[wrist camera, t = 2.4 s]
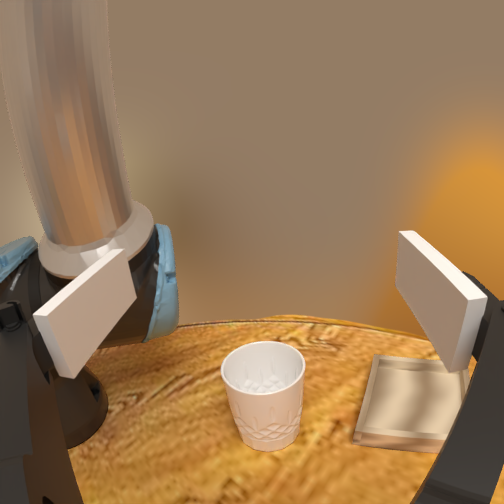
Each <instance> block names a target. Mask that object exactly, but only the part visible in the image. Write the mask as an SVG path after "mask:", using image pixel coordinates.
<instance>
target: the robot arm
mask: <svg viewBox="0 0 504 504" xmlns="http://www.w3.org/2000/svg"><path fill="white" fill-rule="evenodd" d="M0 69H1V75H2V81H3V87H4V93H5V99H6V104H7V108H8V113H9V118H10V122H11V126H12V131H13V135H14V139H15V143H16V147H17V150H18V154H19V158H20V161H21V164H22V168H23V171H24V174H25V177H26V181H27V184H28V187H29V190H30V193H31V196H32V199H33V202H34V204H35V207H36V210H37V213H38V215H39V218H40V221H41V223H42V226H43V228H44V231H45V233H44V235H43V237H42V239H41V242H40V245H39V249H38V243H37V242H36V241H35V239H34V238H33V237H31V236H29V237H23V238H20V239H18V240H15V241H13V242H10V243H8V244H6V245H4V246H2V247H0V504H84V503H83V500H82V497H81V494H80V491H79V488H78V485H77V482H76V479H75V476H74V472H73V469H72V465H71V462H70V458H69V454H68V451H67V449H69V448H72V447H74V446H76V445H78V444H80V443H82V442H83V441H85V440H86V439H88V438H89V437H90V436H91V435H93V434H94V433H95V432H96V430H97V429H98V428H99V427H100V425H101V424H102V422H103V420H104V418H105V416H106V413H107V409H108V399H107V395H106V393H105V391H104V389H103V387H102V385H101V383H100V381H99V380H98V378H97V377H96V376H95V375H94V374H93V373H92V372H91V371H90V370H89V368H88V367H87V366H86V365H85V364H86V362H87V361H88V360H89V358H90V357H91V356H92V354H93V353H94V352H95V350H96V349H102V348H109V347H116V346H123V345H129V344H136V343H146V342H148V341H149V340H151V339H155V338H159V337H163V336H167V335H169V334H171V333H172V332H174V330H175V329H176V327H177V325H178V320H179V303H178V289H177V282H176V278H175V276H176V271H175V257H174V249H173V243H172V237H171V232H170V229H169V227H168V226H166V225H160V224H155V225H154V221H153V217H152V215H151V213H150V211H149V210H148V209H147V208H146V207H145V206H144V205H142V204H141V203H139V202H136V201H134V200H132V196H131V191H130V186H129V181H128V176H127V171H126V165H125V160H124V154H123V149H122V142H121V136H120V130H119V124H118V117H117V110H116V102H115V94H114V86H113V77H112V67H111V57H110V45H109V32H108V14H107V0H0ZM395 286H396V288H397V289H398V291H399V292H400V294H401V295H402V297H403V298H404V300H405V301H406V303H407V305H408V306H409V308H410V309H411V311H412V312H413V314H414V316H415V317H416V319H417V320H418V322H419V324H420V325H421V327H422V328H423V330H424V332H425V333H426V335H427V337H428V338H429V340H430V342H431V343H432V345H433V347H434V348H435V350H436V352H437V354H438V355H439V357H440V359H441V360H442V362H443V364H444V366H445V367H446V369H447V371H448V373H452V372H457V371H461V370H466V369H467V368H468V365H469V362H470V359H471V356H472V355H473V356H474V358H475V359H476V361H477V364H476V366H475V369H474V372H473V375H472V377H471V380H470V383H469V385H468V389H467V391H466V394H465V396H464V399H463V402H462V404H461V406H460V409H459V411H458V414H457V416H456V418H455V420H454V423H453V425H452V427H451V429H450V432H449V434H448V436H447V438H446V440H445V442H444V444H443V446H442V448H441V450H440V452H439V454H438V456H437V458H436V460H435V462H434V463H433V465H432V467H431V469H430V471H429V473H428V474H427V476H426V478H425V480H424V481H423V483H422V485H421V486H420V488H419V490H418V491H417V493H416V495H415V496H414V498H413V499H412V501H411V502H410V504H490V501H491V498H492V496H493V493H494V490H495V488H496V485H497V482H498V479H499V476H500V473H501V470H502V467H503V464H504V300H503V301H499V300H498V299H497V298H496V297H495V296H494V295H493V294H492V293H491V292H490V291H489V290H488V289H485V286H483V285H482V284H480V282H479V281H478V280H477V279H476V278H475V277H474V276H472V275H470V274H468V273H465V272H464V271H463V272H461V271H460V270H459V269H457V268H456V267H455V266H454V265H453V264H452V263H451V262H450V261H449V260H447V259H446V258H445V257H444V256H443V255H442V254H441V253H439V252H438V251H437V250H436V249H434V247H432V246H431V245H430V244H429V243H428V242H426V241H425V240H424V239H423V238H422V237H420V236H419V235H418V234H417V233H416V232H414V231H399V237H398V255H397V269H396V280H395Z"/></svg>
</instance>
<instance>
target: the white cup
mask: <svg viewBox="0 0 504 504" xmlns="http://www.w3.org/2000/svg"><path fill="white" fill-rule="evenodd" d="M221 376H222V379H223V383H224V386H225V390H226V394H227V397H228V401H229V405H230V408H231V412H232V414H233V417H234V421H235V423H236V425H237V428H238V432H239V434H240V436H241V438H242V440H243V442H244V443H245V444H246V445H248V446H249V447H251V448H253V449H254V450H259V451H265V452H271V451H276V450H281V449H283V448H285V447H286V446H288V445H290V444H291V443H293V442H294V440H295V438H296V437H297V435H298V433H299V427H300V418H301V414H302V405H303V394H304V379H305V360H304V357H303V356H302V354H301V353H300V352H299V351H298V350H297V349H295V348H294V347H292V346H290V345H288V344H285V343H281V342H275V341H260V342H253V343H249V344H246V345H243V346H241V347H239V348H237V349H235V350H233V351H232V352H231V353H229V354H228V355H227V356H226V358H225V359H224V361H223V362H222V365H221Z"/></svg>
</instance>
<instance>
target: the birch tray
mask: <svg viewBox="0 0 504 504" xmlns="http://www.w3.org/2000/svg"><path fill="white" fill-rule="evenodd" d="M469 383H470V378H469V370H468V368H467V369H466V370H461V371H457V372H452V373H448V371H447V369H446V367H445V366H444V364H443V362H442V361H440V360H427V359H415V358H405V357H395V356H385V355H376V354H374V358H373V363H372V367H371V372H370V376H369V380H368V384H367V388H366V392H365V396H364V400H363V404H362V407H361V411H360V414H359V418H358V422H357V425H356V428H355V432H354V437H353V442H352V444H355V445H362V446H368V447H376V448H384V449H392V450H402V451H413V452H427V453H439V452H440V450H441V448H442V446H443V444H444V442H445V440H446V438H447V436H448V434H449V432H450V429H451V427H452V425H453V423H454V420H455V418H456V416H457V414H458V411H459V409H460V406H461V404H462V402H463V399H464V396H465V394H466V391H467V389H468V385H469Z"/></svg>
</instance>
